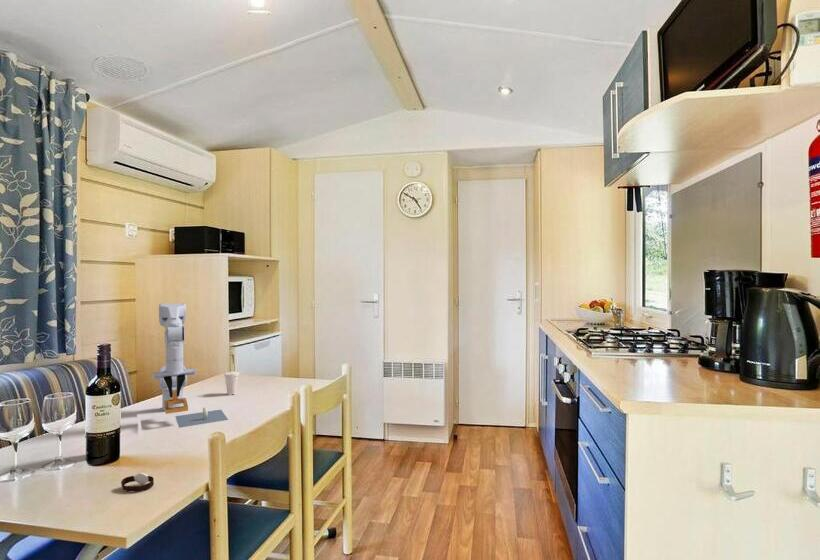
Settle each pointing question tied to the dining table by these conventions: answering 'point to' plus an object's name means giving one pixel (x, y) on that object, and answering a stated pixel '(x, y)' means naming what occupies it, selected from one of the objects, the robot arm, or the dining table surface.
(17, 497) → the dining table surface
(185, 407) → the loop
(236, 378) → the smoothie
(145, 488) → the watch
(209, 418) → the stand
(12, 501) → the dining table surface
